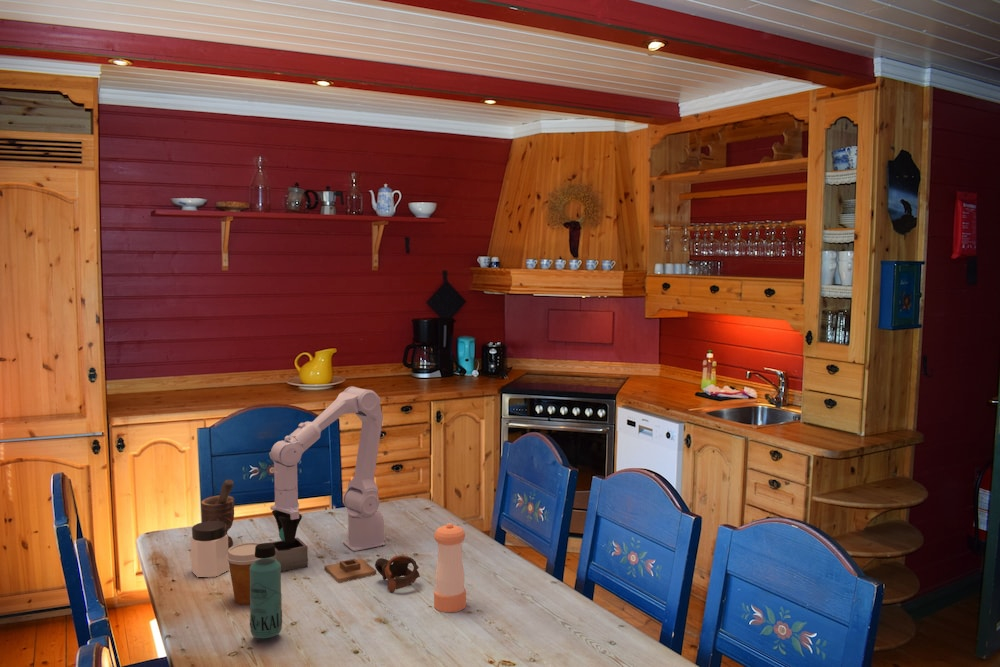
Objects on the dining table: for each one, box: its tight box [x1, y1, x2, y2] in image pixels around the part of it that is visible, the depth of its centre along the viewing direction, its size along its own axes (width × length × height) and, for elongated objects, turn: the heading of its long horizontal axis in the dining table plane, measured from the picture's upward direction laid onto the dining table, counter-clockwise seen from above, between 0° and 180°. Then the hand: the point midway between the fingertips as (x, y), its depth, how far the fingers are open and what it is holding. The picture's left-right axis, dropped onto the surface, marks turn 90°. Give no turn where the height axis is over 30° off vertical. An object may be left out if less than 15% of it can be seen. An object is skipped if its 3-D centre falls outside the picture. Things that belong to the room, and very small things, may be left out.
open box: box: [269, 536, 309, 574], centre depth 203 cm, size 8×8×6 cm
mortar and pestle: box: [200, 479, 235, 549], centre depth 216 cm, size 12×9×20 cm
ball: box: [278, 527, 285, 541], centre depth 203 cm, size 4×4×4 cm
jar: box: [190, 521, 230, 578], centre depth 199 cm, size 9×8×12 cm
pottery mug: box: [374, 554, 421, 593], centre depth 191 cm, size 12×10×8 cm
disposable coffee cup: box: [226, 542, 263, 606], centre depth 182 cm, size 10×10×12 cm
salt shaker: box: [433, 522, 467, 613], centre depth 178 cm, size 7×7×19 cm
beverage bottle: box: [248, 542, 283, 639], centre depth 162 cm, size 6×7×20 cm
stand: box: [323, 558, 377, 584], centre depth 199 cm, size 10×10×2 cm
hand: (287, 539), depth 203 cm, fingers closed on ball, 4 cm apart
